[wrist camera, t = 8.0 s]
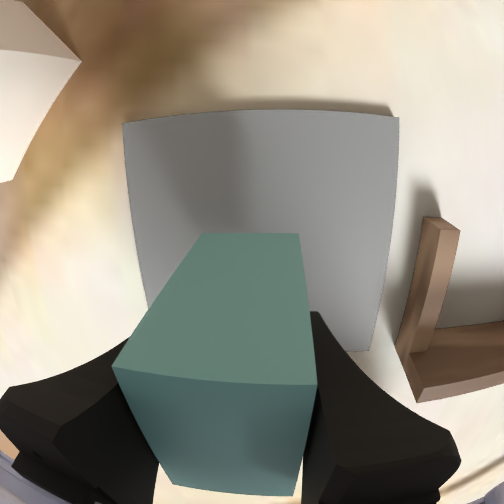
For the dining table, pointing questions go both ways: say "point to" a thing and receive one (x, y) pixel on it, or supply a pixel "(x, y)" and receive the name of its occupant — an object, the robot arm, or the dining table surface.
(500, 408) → the dining table surface
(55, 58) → the milk
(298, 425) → the block
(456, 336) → the bay
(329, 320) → the board
